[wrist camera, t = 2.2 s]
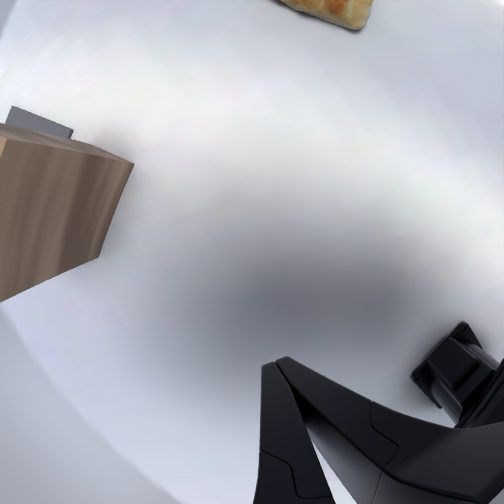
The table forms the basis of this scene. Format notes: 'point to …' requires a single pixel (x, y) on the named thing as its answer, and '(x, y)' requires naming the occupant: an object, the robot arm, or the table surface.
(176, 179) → the table surface
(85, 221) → the block
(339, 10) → the pastry
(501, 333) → the table surface
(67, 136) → the mat
